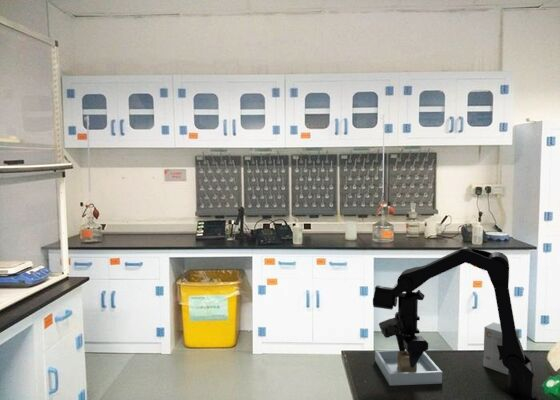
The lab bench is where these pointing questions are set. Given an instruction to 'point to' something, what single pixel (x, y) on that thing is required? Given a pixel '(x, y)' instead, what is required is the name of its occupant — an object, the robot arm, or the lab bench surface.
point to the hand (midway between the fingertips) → (406, 360)
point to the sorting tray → (394, 376)
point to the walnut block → (405, 362)
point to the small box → (493, 348)
